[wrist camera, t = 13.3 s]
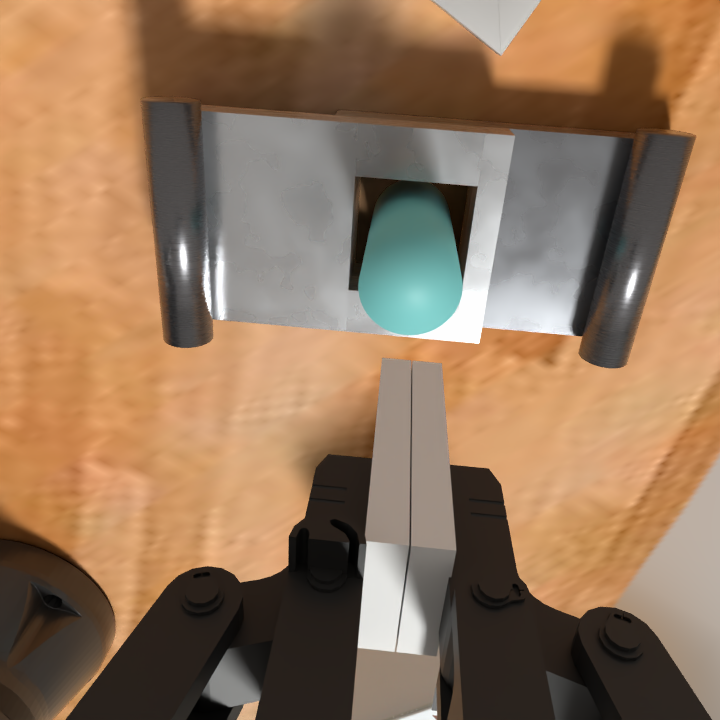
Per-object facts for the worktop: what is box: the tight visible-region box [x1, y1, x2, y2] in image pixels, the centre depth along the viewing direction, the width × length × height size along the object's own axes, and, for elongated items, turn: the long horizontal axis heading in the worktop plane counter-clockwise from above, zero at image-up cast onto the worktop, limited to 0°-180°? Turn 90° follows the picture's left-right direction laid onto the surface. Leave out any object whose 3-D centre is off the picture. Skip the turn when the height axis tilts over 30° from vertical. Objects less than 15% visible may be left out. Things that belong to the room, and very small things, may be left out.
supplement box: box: [351, 639, 440, 720], centre depth 40 cm, size 7×7×13 cm
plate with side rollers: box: [141, 96, 696, 368], centre depth 30 cm, size 11×24×6 cm, turn 86°
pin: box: [358, 180, 463, 335], centre depth 29 cm, size 4×4×10 cm
